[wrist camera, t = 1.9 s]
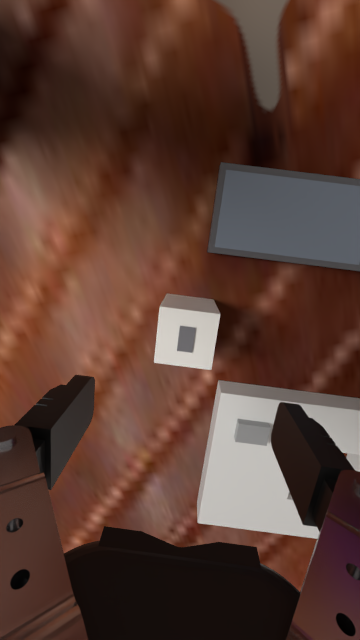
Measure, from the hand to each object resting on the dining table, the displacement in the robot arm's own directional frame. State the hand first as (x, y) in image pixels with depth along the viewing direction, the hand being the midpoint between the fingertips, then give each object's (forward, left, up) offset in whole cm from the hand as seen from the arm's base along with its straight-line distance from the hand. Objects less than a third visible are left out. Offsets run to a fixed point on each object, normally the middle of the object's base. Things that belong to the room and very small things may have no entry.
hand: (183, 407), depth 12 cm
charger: (0, 0, -15) cm, 15 cm away
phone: (+8, +10, -15) cm, 20 cm away
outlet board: (+14, -14, -15) cm, 25 cm away
